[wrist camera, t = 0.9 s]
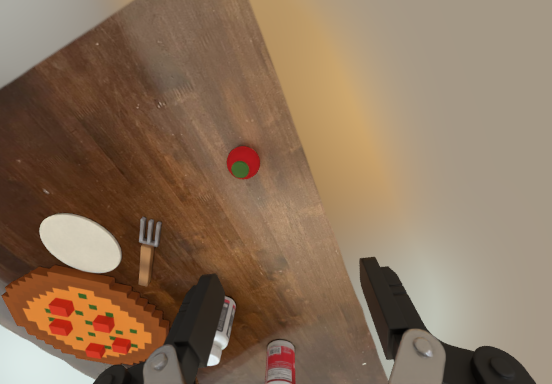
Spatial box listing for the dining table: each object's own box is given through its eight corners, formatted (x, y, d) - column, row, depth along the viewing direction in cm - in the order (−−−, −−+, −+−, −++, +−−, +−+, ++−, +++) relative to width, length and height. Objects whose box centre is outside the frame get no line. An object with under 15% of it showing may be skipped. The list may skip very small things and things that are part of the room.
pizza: (171, 289, 42) (163, 304, 39) (166, 366, 57) (160, 380, 55) (-9, 251, 39) (-30, 264, 37) (36, 342, 54) (23, 356, 52)
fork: (154, 282, 41) (150, 287, 40) (138, 278, 41) (134, 283, 40) (161, 222, 34) (157, 227, 33) (142, 216, 34) (138, 221, 33)
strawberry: (227, 165, 29) (218, 179, 25) (235, 137, 27) (226, 148, 24) (256, 175, 30) (251, 190, 26) (265, 148, 28) (262, 160, 24)
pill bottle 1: (203, 301, 44) (183, 358, 35) (221, 290, 42) (204, 347, 33) (224, 314, 45) (209, 371, 37) (241, 304, 43) (230, 362, 35)
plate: (48, 259, 40) (45, 261, 39) (35, 202, 34) (32, 203, 33) (121, 278, 41) (120, 280, 41) (122, 227, 35) (120, 229, 35)
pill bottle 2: (287, 355, 52) (287, 420, 42) (263, 349, 51) (257, 413, 41) (299, 343, 49) (302, 410, 40) (274, 336, 48) (271, 402, 39)
